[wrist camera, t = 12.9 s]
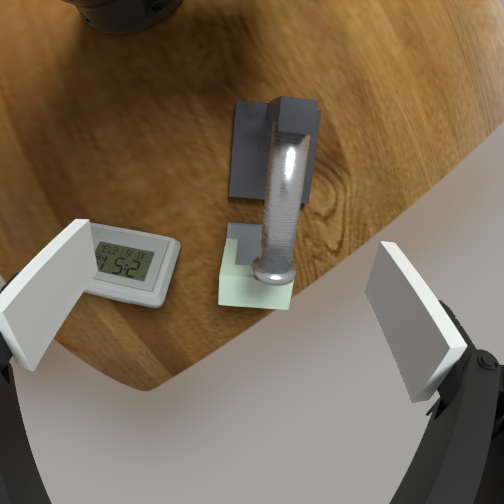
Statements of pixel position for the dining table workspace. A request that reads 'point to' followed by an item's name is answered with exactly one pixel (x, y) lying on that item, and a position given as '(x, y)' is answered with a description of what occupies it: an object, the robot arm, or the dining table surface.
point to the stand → (275, 175)
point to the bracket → (248, 285)
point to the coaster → (245, 241)
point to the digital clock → (132, 265)
